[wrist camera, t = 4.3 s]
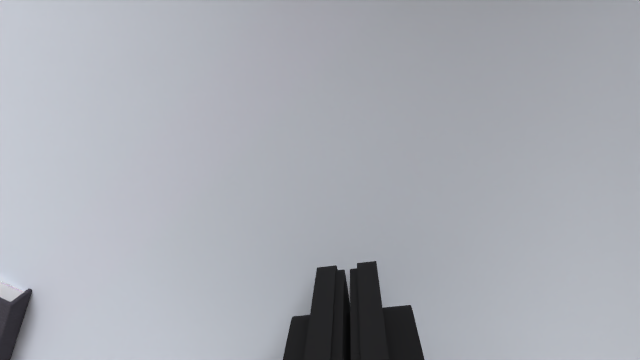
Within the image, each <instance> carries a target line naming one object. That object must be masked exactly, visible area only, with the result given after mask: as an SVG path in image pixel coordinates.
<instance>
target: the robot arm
mask: <svg viewBox="0 0 640 360" xmlns="http://www.w3.org/2000/svg"><path fill="white" fill-rule="evenodd" d="M283 360H424V356H423V352H422V348H421V344H420V340H419V336H418V332H417V328H416V323H415V319H414V315H413V311H412V308H411V305H406V306H396V307H386V308H382V302H381V294H380V287H379V279H378V272H377V264H376V261H374V262H364V263H357V269H350V301H349V294H348V288H347V282H346V275H345V270H338V269H337V266H328V267H319V268H317V272H316V279H315V285H314V292H313V299H312V306H311V313H310V315H304V316H294V317H292V320H291V324H290V329H289V333H288V338H287V343H286V347H285V352H284V357H283Z"/></svg>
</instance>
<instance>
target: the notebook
mask: <svg viewBox="0 0 640 360" xmlns="http://www.w3.org/2000/svg"><path fill="white" fill-rule="evenodd" d="M31 293H32V290H31V289H28V290H26V291H25V292H24V291H22V290H20V289H17V288H15V287H13V286H11V285H8V284H6V283H4V282H2V281H0V360H10V358H11V355H12V352H13V349H14V346H15V343H16V339H17V336H18V333H19V330H20V327H21V324H22V321H23V318H24V315H25V311H26V308H27V305H28V302H29V299H30V296H31Z"/></svg>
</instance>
